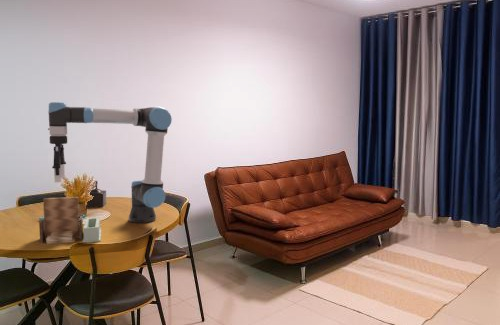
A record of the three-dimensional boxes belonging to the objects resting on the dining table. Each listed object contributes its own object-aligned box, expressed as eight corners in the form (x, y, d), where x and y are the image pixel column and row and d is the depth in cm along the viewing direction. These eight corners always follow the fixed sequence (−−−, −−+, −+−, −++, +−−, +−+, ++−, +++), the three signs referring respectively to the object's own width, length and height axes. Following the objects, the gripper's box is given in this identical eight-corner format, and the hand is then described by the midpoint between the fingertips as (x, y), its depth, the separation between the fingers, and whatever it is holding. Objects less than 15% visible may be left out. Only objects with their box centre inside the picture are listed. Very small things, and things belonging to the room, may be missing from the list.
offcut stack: (75, 239, 194) (75, 230, 193) (74, 242, 189) (74, 233, 188) (48, 241, 190) (47, 232, 189) (46, 244, 185) (46, 235, 185)
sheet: (79, 236, 197) (78, 196, 194) (79, 237, 195) (77, 197, 193) (45, 239, 192) (43, 198, 190) (44, 240, 190) (43, 199, 188)
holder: (101, 230, 208) (101, 217, 207) (100, 241, 190) (100, 227, 189) (84, 231, 206) (84, 218, 205) (82, 242, 187) (81, 228, 187)
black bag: (89, 204, 268) (89, 177, 266) (106, 203, 270) (106, 177, 267) (82, 209, 253) (82, 181, 251) (100, 209, 254) (100, 181, 252)
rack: (82, 235, 199) (82, 215, 198) (81, 239, 192) (81, 219, 191) (42, 237, 193) (42, 217, 192) (40, 242, 186) (39, 222, 185)
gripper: (53, 134, 198) (54, 176, 201) (45, 136, 175) (47, 184, 177) (69, 134, 201) (71, 175, 203) (63, 136, 177) (65, 183, 180)
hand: (59, 179), depth 190 cm, fingers open, 13 cm apart
